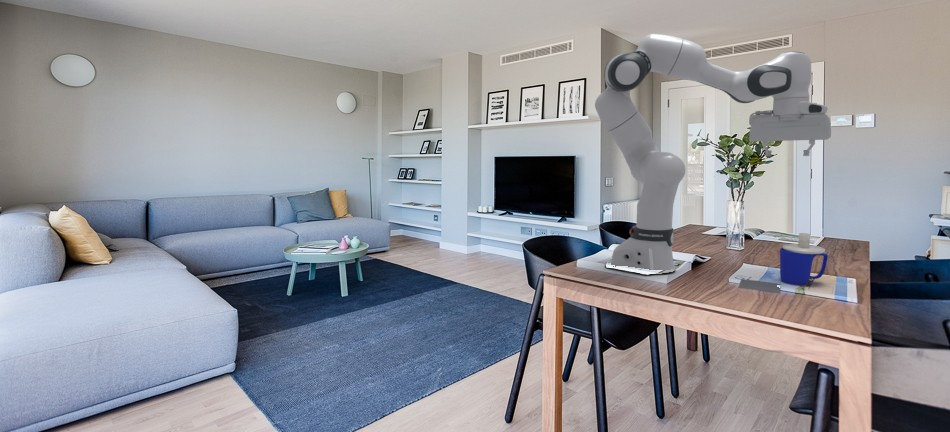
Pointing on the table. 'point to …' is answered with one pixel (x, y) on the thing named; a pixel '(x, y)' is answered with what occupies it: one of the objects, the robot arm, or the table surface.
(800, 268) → the mug
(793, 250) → the lid
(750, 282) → the mat
